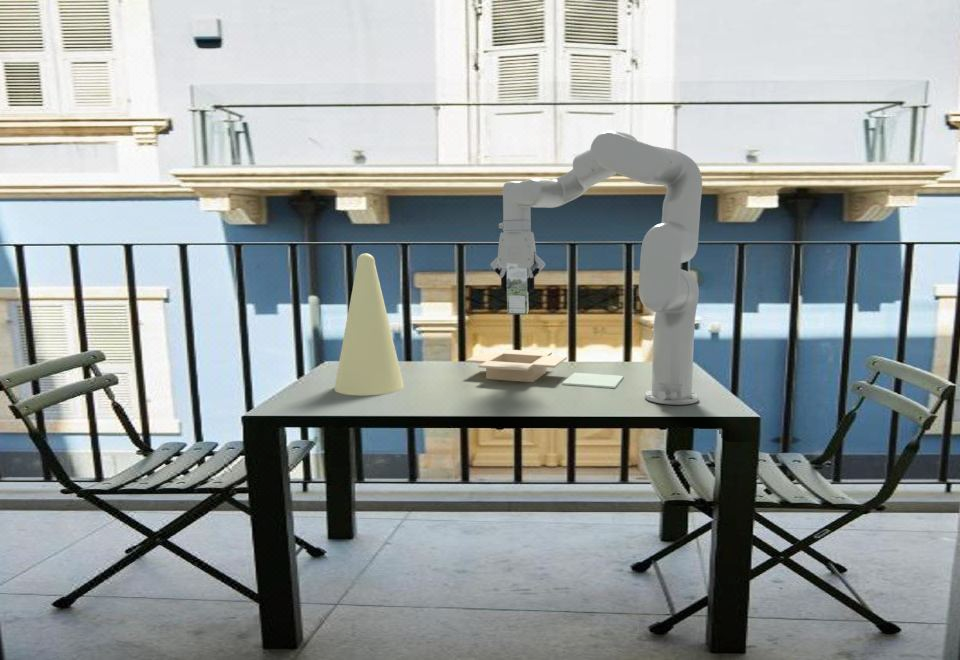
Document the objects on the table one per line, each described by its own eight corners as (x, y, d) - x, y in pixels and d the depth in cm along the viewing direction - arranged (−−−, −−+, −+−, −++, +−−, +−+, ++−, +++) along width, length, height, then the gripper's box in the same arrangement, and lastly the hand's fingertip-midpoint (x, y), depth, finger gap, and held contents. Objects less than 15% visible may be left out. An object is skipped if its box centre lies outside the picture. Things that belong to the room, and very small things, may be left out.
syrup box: (529, 312, 199) (528, 260, 197) (527, 314, 194) (526, 261, 192) (508, 312, 200) (508, 261, 198) (506, 314, 194) (506, 262, 192)
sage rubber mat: (614, 388, 183) (614, 386, 183) (562, 384, 188) (562, 382, 188) (623, 377, 196) (623, 375, 196) (574, 374, 201) (574, 372, 201)
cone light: (404, 394, 179) (401, 256, 174) (331, 396, 177) (326, 257, 171) (402, 374, 203) (399, 252, 198) (338, 376, 201) (333, 253, 196)
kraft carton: (548, 388, 183) (548, 369, 183) (458, 381, 192) (457, 363, 192) (571, 369, 207) (571, 353, 206) (489, 364, 216) (489, 348, 215)
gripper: (482, 227, 193) (484, 292, 196) (543, 226, 187) (544, 293, 190) (492, 227, 200) (493, 290, 203) (551, 226, 194) (551, 291, 197)
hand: (517, 291), depth 196 cm, fingers closed on syrup box, 6 cm apart
